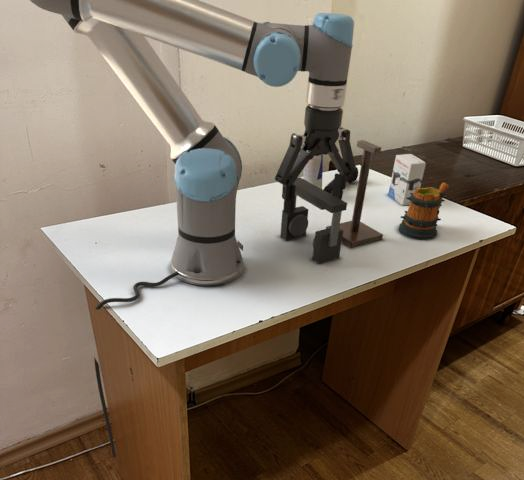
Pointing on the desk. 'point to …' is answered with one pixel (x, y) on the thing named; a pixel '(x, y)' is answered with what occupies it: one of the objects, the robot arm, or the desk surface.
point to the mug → (423, 213)
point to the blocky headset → (296, 225)
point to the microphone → (349, 179)
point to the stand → (361, 204)
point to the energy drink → (314, 171)
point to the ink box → (406, 177)
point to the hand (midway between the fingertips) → (312, 208)
